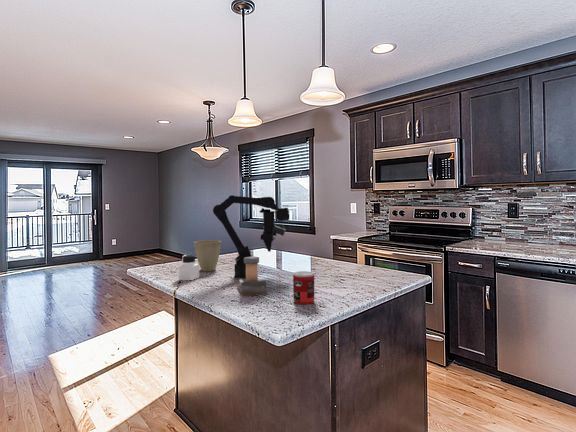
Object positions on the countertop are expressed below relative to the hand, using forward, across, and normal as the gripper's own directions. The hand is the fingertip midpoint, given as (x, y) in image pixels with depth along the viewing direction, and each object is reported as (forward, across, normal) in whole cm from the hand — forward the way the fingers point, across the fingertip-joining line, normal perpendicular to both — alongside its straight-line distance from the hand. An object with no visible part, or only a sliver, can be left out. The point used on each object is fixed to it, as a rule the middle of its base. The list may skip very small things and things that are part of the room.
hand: (269, 251), depth 184 cm
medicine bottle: (+12, -10, +39) cm, 42 cm away
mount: (+12, -31, +4) cm, 34 cm away
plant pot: (+12, +12, +36) cm, 40 cm away
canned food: (+12, -47, -19) cm, 52 cm away
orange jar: (+10, -33, +3) cm, 35 cm away
